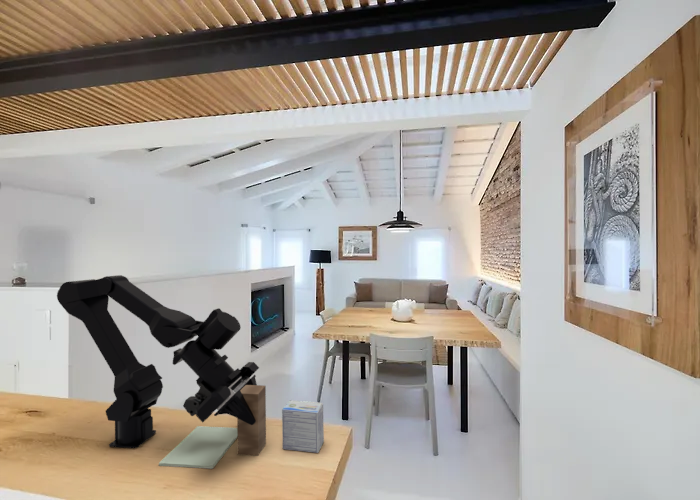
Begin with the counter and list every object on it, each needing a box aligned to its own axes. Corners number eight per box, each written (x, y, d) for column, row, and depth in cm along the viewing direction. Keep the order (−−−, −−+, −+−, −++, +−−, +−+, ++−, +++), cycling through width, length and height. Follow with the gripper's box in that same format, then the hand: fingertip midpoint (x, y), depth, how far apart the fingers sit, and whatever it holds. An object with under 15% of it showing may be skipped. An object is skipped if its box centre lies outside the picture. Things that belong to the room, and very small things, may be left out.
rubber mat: (158, 465, 67) (158, 463, 67) (197, 428, 81) (197, 426, 81) (212, 468, 66) (212, 466, 66) (242, 430, 80) (242, 428, 80)
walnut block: (237, 454, 70) (237, 393, 70) (246, 442, 74) (245, 384, 74) (258, 455, 70) (258, 394, 70) (266, 443, 74) (265, 385, 74)
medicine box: (324, 442, 74) (323, 402, 74) (318, 454, 70) (317, 411, 70) (289, 438, 76) (289, 399, 76) (281, 450, 72) (281, 408, 72)
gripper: (205, 374, 83) (249, 421, 82) (153, 409, 64) (210, 472, 63) (236, 341, 82) (281, 389, 81) (192, 368, 64) (251, 431, 62)
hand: (258, 417), depth 72 cm, fingers closed on walnut block, 4 cm apart
